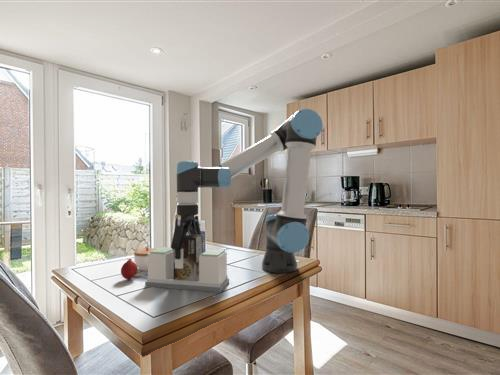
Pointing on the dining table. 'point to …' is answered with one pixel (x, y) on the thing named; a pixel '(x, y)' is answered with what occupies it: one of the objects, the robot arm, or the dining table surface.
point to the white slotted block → (209, 280)
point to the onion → (129, 270)
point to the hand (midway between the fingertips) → (187, 262)
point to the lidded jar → (142, 258)
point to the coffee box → (189, 258)
